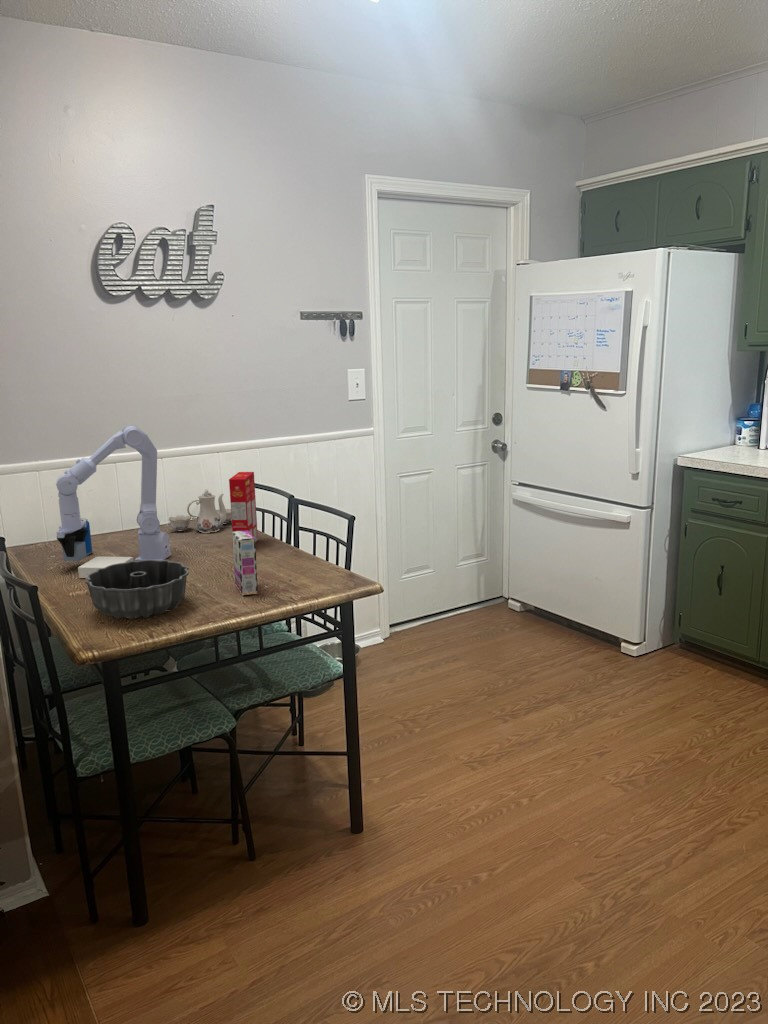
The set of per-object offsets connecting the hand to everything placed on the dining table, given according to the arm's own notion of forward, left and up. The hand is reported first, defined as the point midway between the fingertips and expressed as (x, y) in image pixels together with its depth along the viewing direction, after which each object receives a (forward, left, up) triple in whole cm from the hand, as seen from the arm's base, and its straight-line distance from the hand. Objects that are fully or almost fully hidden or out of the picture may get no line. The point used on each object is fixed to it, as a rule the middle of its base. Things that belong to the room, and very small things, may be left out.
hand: (74, 554), depth 240 cm
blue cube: (0, 0, -2) cm, 2 cm away
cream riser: (-13, +5, -5) cm, 15 cm away
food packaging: (-47, -29, -5) cm, 56 cm away
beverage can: (+6, -15, -5) cm, 17 cm away
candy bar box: (-62, +18, -5) cm, 65 cm away
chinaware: (-24, -52, -5) cm, 58 cm away
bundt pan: (-38, +35, -5) cm, 52 cm away
